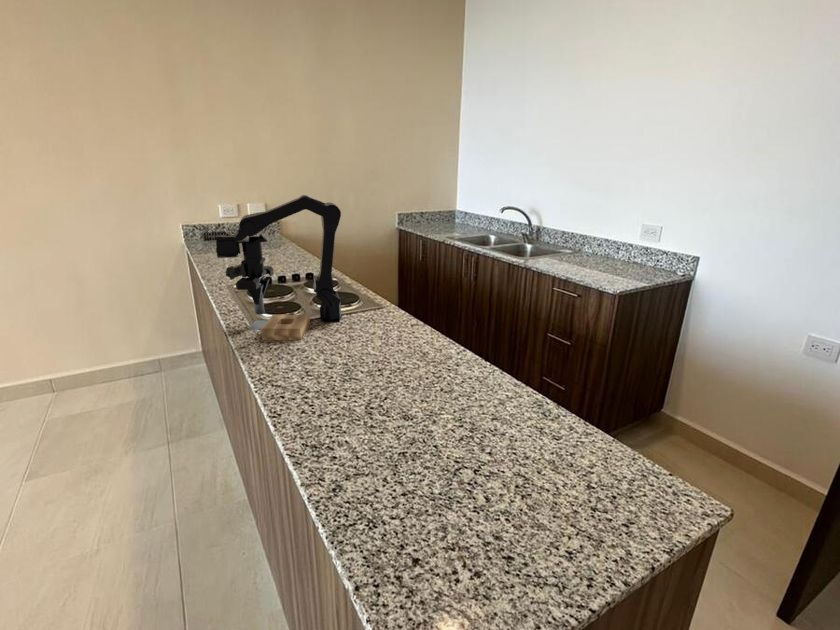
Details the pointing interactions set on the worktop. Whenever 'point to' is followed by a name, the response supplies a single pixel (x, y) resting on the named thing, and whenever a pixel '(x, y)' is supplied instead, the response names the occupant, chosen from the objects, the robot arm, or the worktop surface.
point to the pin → (259, 306)
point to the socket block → (285, 327)
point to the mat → (257, 325)
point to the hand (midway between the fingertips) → (258, 302)
